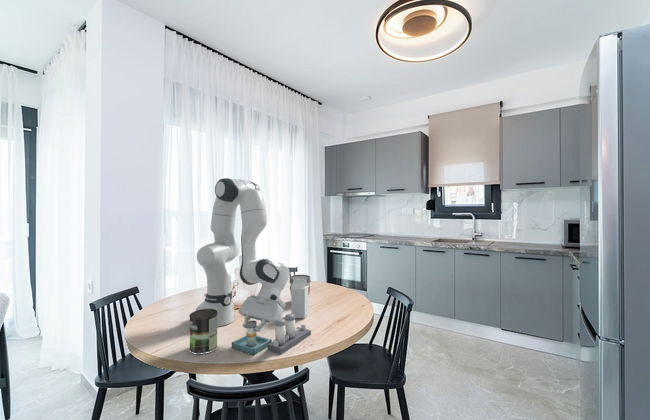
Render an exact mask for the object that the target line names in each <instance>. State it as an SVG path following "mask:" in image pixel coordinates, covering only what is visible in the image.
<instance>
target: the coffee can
mask: <svg viewBox="0 0 650 420" xmlns="http://www.w3.org/2000/svg"><path fill="white" fill-rule="evenodd" d="M217 314H218V311H217V310H214V309H202V310H197V311H196V310H195V311H193V312H191V313H189V352H190V351H191V352H193V353H196V354H201V353H206V352H210V351H213V350H214V351H216V350H217V349H218V326H217ZM216 348H217V349H216ZM215 349H216V350H215ZM214 351H213V352H214ZM210 353H211V352H210Z"/></svg>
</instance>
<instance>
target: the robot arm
mask: <svg viewBox="0 0 650 420" xmlns="http://www.w3.org/2000/svg"><path fill="white" fill-rule="evenodd" d="M214 193H215V198H214V199H215V200H214V203H213V207H212V213H211V220H210V231H211V232H212V234H213V237H214V242H213V243H208V244H205V245H204V246H202V247H200V248H199V249H198V251H197V253H196V260H197V263H198V264H199V265H200V266H201V267H202V268H203V270H204V273H205V276H206V292H207V293H204V294H203V296H204V301H202V302H201V303H200V304H199V305H198V306H197V307H196V308H195V311H197V310H202V309H214V310H217V311H218V314H217V327H223V326H226V325H229V324H231V323H232V324H233V322H234V321H235V319H236V318H235V317H236V313H235V311H234V302H233V291H232V275H231V273H229V272H228V270H227V268H226V263H230V262H231V261H233V260H235V258H236V257H238V255H239V252H240V250H239V246H238V244H237V242H236V237H235V226H236V225H235V224H236V217H237V209H238V206H239V207H240V217H241V236H240V241H241V243H240V244H241V245H240V246H241V248H240V249H241V265H240V268H239V278H240V280H241V281H242V282H243V284H245V285H249V286H253V285H255V284H261V288H260V290H259V291H258V293H257V295H253V294H252V295H250V296H247V298H246V299H245V300H244V301H243V303H242V304H241V305H240V307H239V308H238V313H239V314H240V316H242V317H244V322H243V324H242V327H243V329H247V327H246V323H247V322H248V321H251V320H255V321H259V322H260V323H259V324H258V325H256V328H255V331H257V333H260V332H261V329H263V328H264V327H265V326H266V325H267V323H268V324H271V325H275V321H277V320H279V319H282V316H283V314H284V309H285V308H286V303H285V302H284V300H283V299H282V298H280V296H281V294H282V291H283V290H284V289H285V287H286V285H287V283H288V280H289V279H290V273H291V272H290V268H288V266H287V265H286V264H284V263H282V262H273V261H271V260H270V259H267V258H262V259H257V255H256V254H257V251H256V243H257V242H256V241H257V240H258V239H257V238H258V237H259V236H260V234H261V233H262V232H263V230H264V229H265V228H266V226H267V221H268V217H267V216H268V215H267V209H266V204H265V201H264V197H263V194H262V192H261V188H260V186H259V185H258V184H257V183H255V182H253V181H248V180H244V179H238V178H237V179H236V178H235V179H234V178H228V177H227V178H226V177H225V178H221V179H219V180H217V182H216V184H215V186H214Z"/></svg>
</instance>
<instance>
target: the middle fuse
mask: <svg viewBox="0 0 650 420" xmlns="http://www.w3.org/2000/svg"><path fill="white" fill-rule="evenodd" d="M295 328H296V318H295V314H291V313H287V314H285V334H287V335H289V339H294V338H295Z"/></svg>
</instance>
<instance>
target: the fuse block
mask: <svg viewBox="0 0 650 420" xmlns="http://www.w3.org/2000/svg"><path fill="white" fill-rule="evenodd" d="M306 327H307V326H306V324H304V323H301V324H300V326H297V327H295V338H294V339H289V335H287V334H286V333H285V344H284V345H281V346H278V341H276V340H275V339H274V340H273V341H272V342H271V343H270V344H268V347H267V351H270V352H273V353H276V354H279V355H283V354H284V353H286V352H287V351H288V350H291V349H292V348H294V347H295V346H296V345H298V344H300V343H302V341H304V340H306V339H307V338H308V337H310V336H311V334H312V330H311V329H307V328H306Z"/></svg>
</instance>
